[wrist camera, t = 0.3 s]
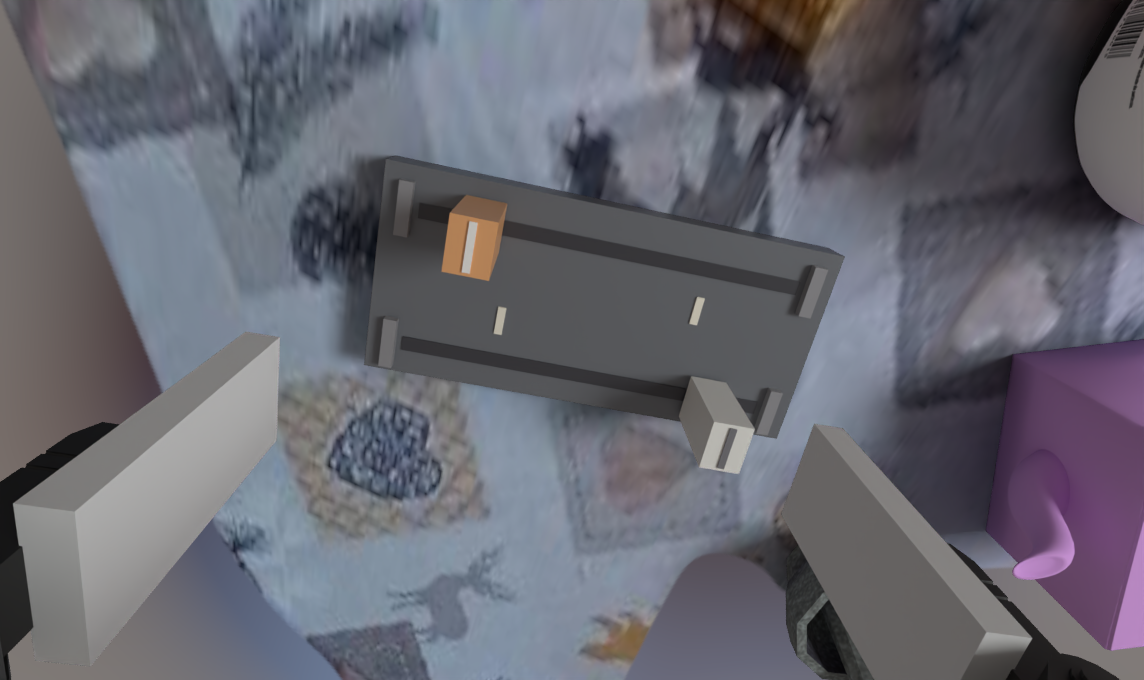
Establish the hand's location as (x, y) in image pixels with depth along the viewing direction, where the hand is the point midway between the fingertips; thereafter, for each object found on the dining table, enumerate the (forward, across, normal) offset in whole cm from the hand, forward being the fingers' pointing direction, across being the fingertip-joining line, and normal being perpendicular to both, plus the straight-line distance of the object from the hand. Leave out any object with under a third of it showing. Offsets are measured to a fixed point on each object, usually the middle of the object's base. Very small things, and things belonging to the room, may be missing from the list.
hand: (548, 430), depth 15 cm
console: (+26, +4, -4) cm, 27 cm away
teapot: (+26, +41, -8) cm, 49 cm away
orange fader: (+23, -4, 0) cm, 24 cm away
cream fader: (+23, +12, -9) cm, 28 cm away
